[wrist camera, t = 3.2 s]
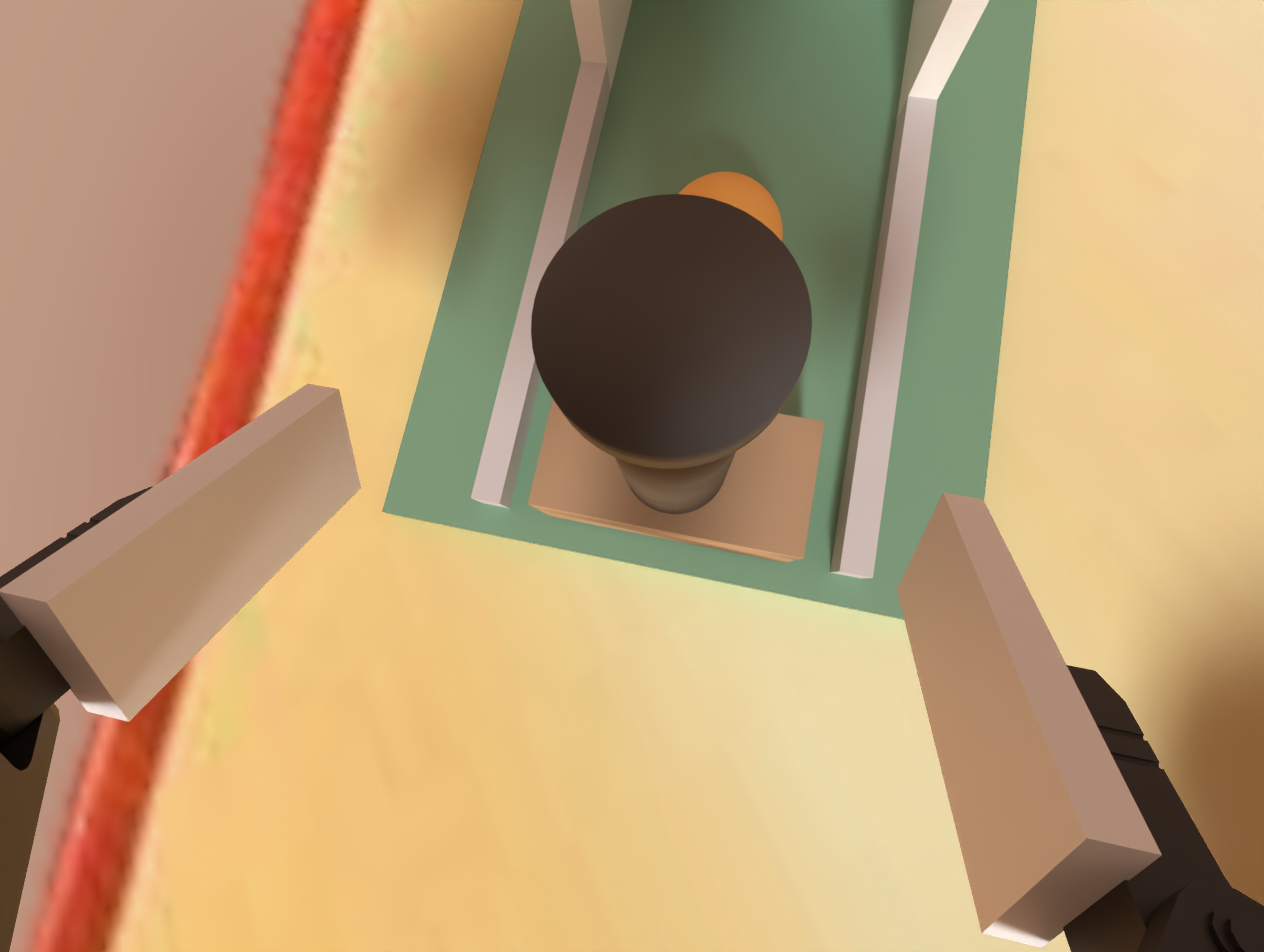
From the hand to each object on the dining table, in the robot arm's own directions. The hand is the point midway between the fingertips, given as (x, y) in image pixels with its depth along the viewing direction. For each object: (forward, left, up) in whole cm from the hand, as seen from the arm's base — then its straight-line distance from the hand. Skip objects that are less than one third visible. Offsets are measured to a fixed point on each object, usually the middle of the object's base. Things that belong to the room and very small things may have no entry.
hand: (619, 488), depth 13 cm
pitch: (-1, -12, -8) cm, 14 cm away
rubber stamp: (-1, -2, -8) cm, 8 cm away
